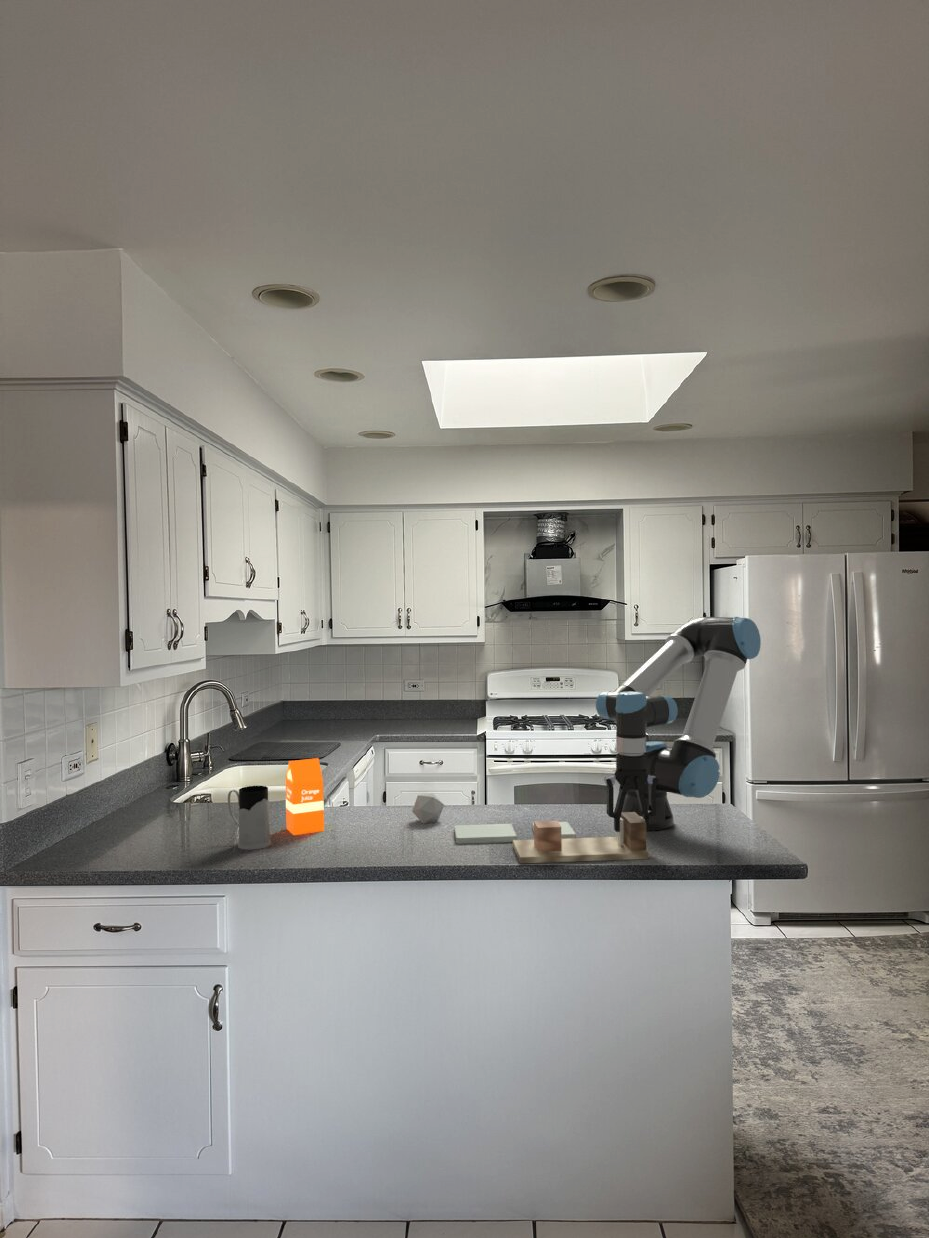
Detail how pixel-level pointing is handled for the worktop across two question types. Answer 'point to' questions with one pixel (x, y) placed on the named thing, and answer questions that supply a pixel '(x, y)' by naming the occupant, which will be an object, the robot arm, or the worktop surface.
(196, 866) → the worktop surface
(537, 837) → the cube
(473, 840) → the broken strip
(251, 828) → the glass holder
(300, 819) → the orange juice
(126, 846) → the worktop surface
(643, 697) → the robot arm
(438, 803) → the grey block
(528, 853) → the wooden board with blocks
